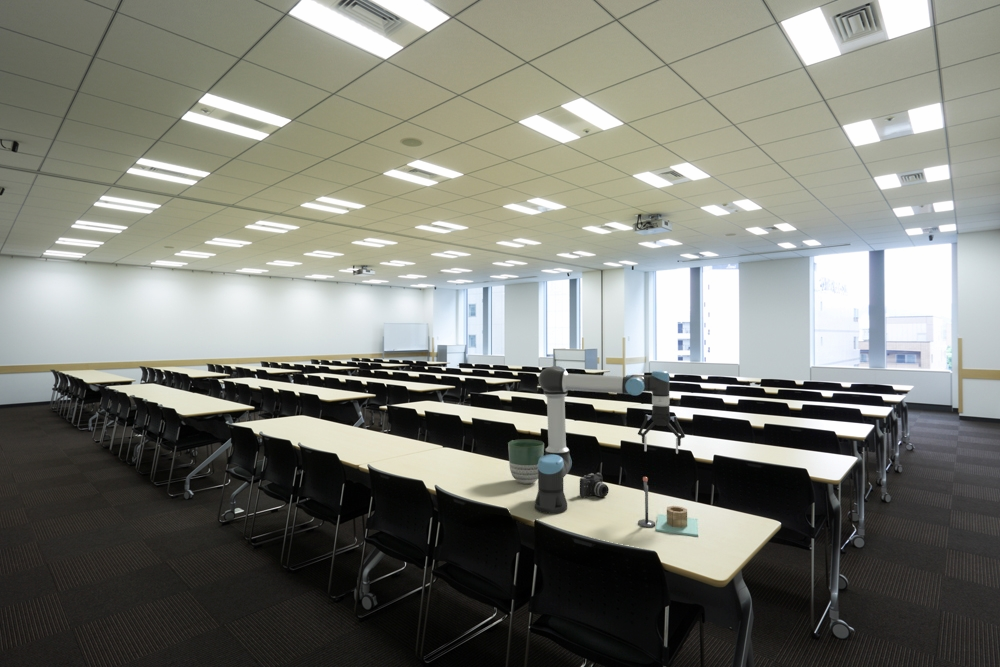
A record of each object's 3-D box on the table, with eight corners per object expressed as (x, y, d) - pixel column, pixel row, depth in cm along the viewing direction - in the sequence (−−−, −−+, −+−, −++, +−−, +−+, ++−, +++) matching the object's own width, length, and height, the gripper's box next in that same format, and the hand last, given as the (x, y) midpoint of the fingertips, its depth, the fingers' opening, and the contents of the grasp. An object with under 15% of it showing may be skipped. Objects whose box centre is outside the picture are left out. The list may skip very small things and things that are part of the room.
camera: (593, 501, 235) (593, 480, 236) (577, 495, 244) (577, 475, 244) (613, 495, 244) (613, 475, 244) (597, 490, 253) (596, 471, 253)
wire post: (636, 529, 201) (636, 476, 201) (638, 520, 211) (638, 470, 211) (654, 531, 199) (654, 478, 199) (655, 522, 208) (655, 471, 209)
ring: (666, 525, 203) (666, 511, 203) (667, 519, 210) (667, 505, 210) (687, 528, 200) (687, 513, 200) (687, 521, 207) (687, 507, 207)
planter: (506, 478, 275) (506, 439, 275) (540, 476, 277) (540, 438, 277) (510, 488, 256) (510, 447, 256) (547, 487, 258) (547, 446, 258)
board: (655, 531, 199) (655, 529, 199) (658, 515, 216) (658, 513, 216) (698, 536, 194) (698, 534, 194) (697, 520, 210) (697, 518, 210)
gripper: (631, 404, 224) (631, 451, 223) (690, 407, 215) (690, 455, 215) (633, 402, 231) (633, 447, 231) (690, 405, 222) (690, 452, 222)
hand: (661, 451), depth 223 cm, fingers open, 13 cm apart
